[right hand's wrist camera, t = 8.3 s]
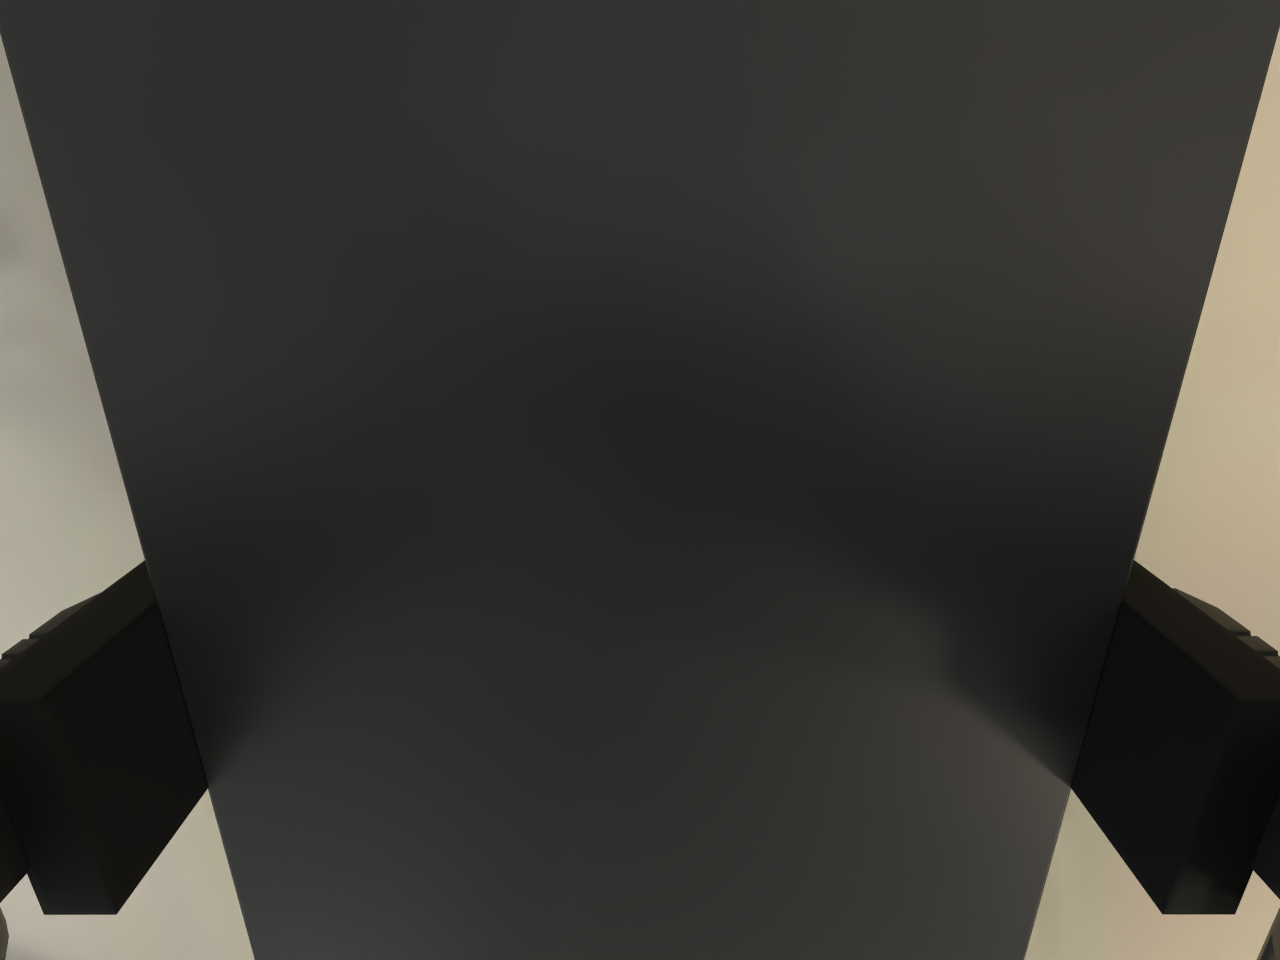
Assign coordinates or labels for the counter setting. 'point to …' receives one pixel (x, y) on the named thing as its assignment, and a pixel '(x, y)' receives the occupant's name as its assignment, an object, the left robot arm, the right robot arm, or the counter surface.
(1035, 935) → the counter surface
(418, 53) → the cabinet
